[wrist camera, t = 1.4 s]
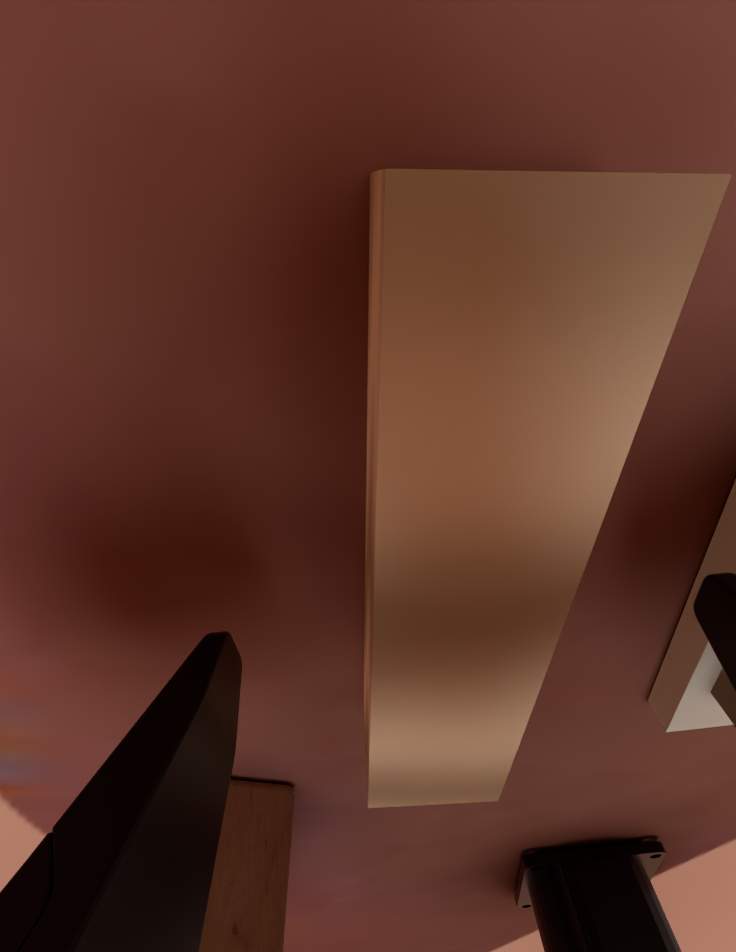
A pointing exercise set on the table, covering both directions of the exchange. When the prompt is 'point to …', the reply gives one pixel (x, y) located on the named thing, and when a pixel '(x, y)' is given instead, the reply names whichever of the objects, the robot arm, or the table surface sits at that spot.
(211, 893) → the wooden block
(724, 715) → the slat board
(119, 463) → the table surface
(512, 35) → the table surface
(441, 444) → the slat
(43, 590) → the table surface
